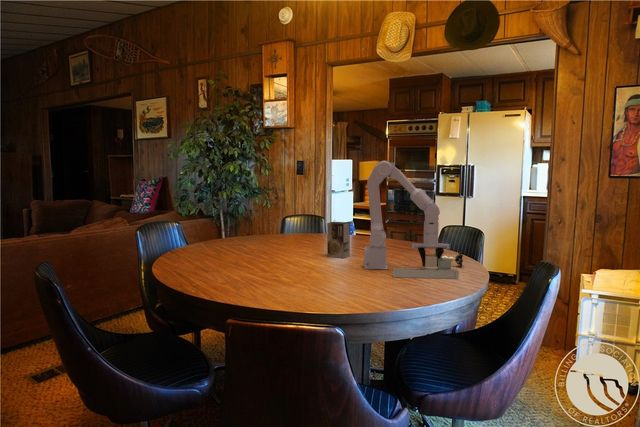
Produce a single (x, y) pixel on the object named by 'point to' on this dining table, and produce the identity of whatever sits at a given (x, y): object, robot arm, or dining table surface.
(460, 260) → the valve
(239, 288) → the dining table surface
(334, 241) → the coffee box
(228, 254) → the dining table surface
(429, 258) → the block
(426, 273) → the rail
